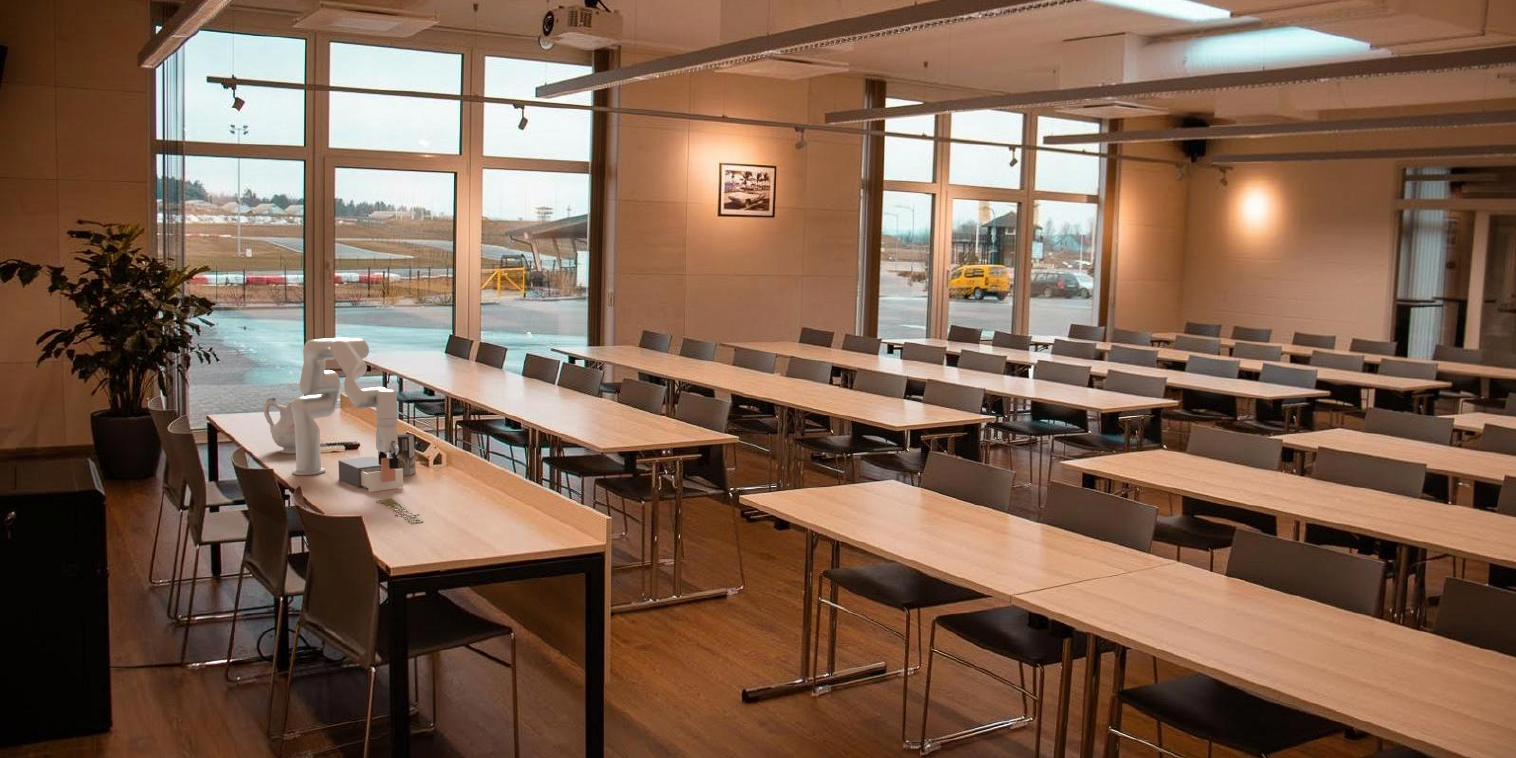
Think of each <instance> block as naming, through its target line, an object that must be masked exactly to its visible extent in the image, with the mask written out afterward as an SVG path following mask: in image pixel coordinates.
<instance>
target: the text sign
mask: <svg viewBox="0 0 1516 758" xmlns="http://www.w3.org/2000/svg"><path fill="white" fill-rule="evenodd" d="M375 502H376V503H377V504H379V505H385V506H386V507H388V506H390V507H389V508H388V509H390V508H393V509H391V510H393V511H392V512H396V513H394V514H395V515H394V517H399V516H398V515H401V516H406V517H402V519H403V518H405V519H404V521H405V520H408V521H407V523H409V524H410V523H416V524H419V523H418V522H425V521H424V520H423V519H420V517H419V516H420V513H415V514H413V512H408V511H410V510H409V509H408V508H406V507H404V505H401V504H400V503H399V502H398V501H396V500H395V499H393V498H384V499H382V498H381V499H376V500H375ZM396 506H400V507H396ZM401 508H403V509H401ZM395 509H398V510H395ZM403 510H406V511H403ZM398 511H401V512H398ZM405 512H407V513H405ZM397 513H398V514H397ZM402 513H403V514H402ZM407 514H412V515H407ZM416 515H419V516H416ZM401 516H400V517H401ZM412 516H415V517H412ZM408 518H415V519H408ZM410 521H416V522H410Z"/></svg>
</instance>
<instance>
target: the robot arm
mask: <svg viewBox="0 0 1516 758" xmlns="http://www.w3.org/2000/svg"><path fill="white" fill-rule="evenodd" d="M369 353H370V348H369V345H368V343H367V342H366V340H364V339H363V338H360V337H333V338H331V337H330V338H318V339H317V338H316V339H310V340H307V341H306V342H305V343H304V346H303V350H302V354H303V364H302V369H301V375H300V378H299V379H300V380H299V390H300V392H301V394H303V395H302V396H299V397H296V398H295V399H294V400H292V401H293V402H292V405H291V410H292V414H293V419H294V426H295V445H296V453H295V463H296V464H295V467H296V468H294V469H293V470H292V471H291V473H292V475H295V476H315V475H320V474H324V473H325V472H326V468H325V467H322V459H321V457H322V456H321V453H322V452H321V433H320V432H321V430H320V426H319V425H318V423H317V422H316V421H315V419H320V418H326V417H330V416H332V415H333V414H334V413H335V412H336V408H337V403H338V400H339V399H338V398H339V393H340V388H341V379H340V377H339V375H338V373H337V372H336V371H334V370H332V369H331V370H330V369H326V366H327V365H326V361H328V360H329V361H331V360H335V361H336V362H337V363H336V364H338V366H339V367H340V368H341V370H342V371H343V373H344V374H345V377H344V392H345V395H346V397H347V398H348V399H349V401H350V402H351V403H352V405H353V406H354V407H356V408H357V409H369V408H376V412H375V413H376V431H375V432H376V433H375V435H376V436H375V437H376V438H375V448H376V450H377V454H378V455H377V456H378V457H377V458H378V459H379V465H381V459H382V458H389V456H390V458H389V468H390V469H394V468H398V454H399V453H398V452H399V447H398V437H397V434H398V429H397V426H398V397H397V391H396V390H394V389H388V388H386V387H385V386H376V387H375V386H374V387H373V386H372V387H364V388H361V387H359V385H358V384H357V383H356V381H357V380H359V379H361V378H362V376H364V375H365V374H366V372H367V369H368V366H367V364H366V362H365V361H364V359H366V358H367V357H368V355H369ZM392 453H393V454H392Z"/></svg>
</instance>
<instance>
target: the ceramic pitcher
mask: <svg viewBox="0 0 1516 758" xmlns="http://www.w3.org/2000/svg"><path fill="white" fill-rule="evenodd" d="M276 399H277V398H275V397H269V398H267V400H266V402H265V403H264V406H263V414H264V417H265V419H266V422H267V423H268V425H269V428H270V429H269V430H270V433H271V438H272V440H273V443H275V444H276V445H277V446H278V447H280V448H283V449H282V450H281V451H280V453H282V452H283V453H282V454H289V455H291V454H296V445H295V426H294V419H293V414H292V410H291V405H292V402H293V401H294V400H291V401H289V402H288V403H286V405H283V404H279V403H278V402H277V401H276ZM270 407H275V408H276V409H277V410H279V415H280V416H279V417H280V418H279V420H278V421H277V422H276V423H274V420H273V419H272V416H271V414H270Z"/></svg>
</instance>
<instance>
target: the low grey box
mask: <svg viewBox="0 0 1516 758" xmlns="http://www.w3.org/2000/svg"><path fill="white" fill-rule="evenodd" d="M337 463H338V480H339V481H340V482H343V483H345V484H348V485H349V486H352V487H354V488H357V489H364V488H366V487H364V486H362V485H360V470H363V469H371V468H379V467H381V465H379V459H378V457H376V456H371V455H370V456H364V457H357V458H356V457H355V458H347V459H340V460H338V462H337Z"/></svg>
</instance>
